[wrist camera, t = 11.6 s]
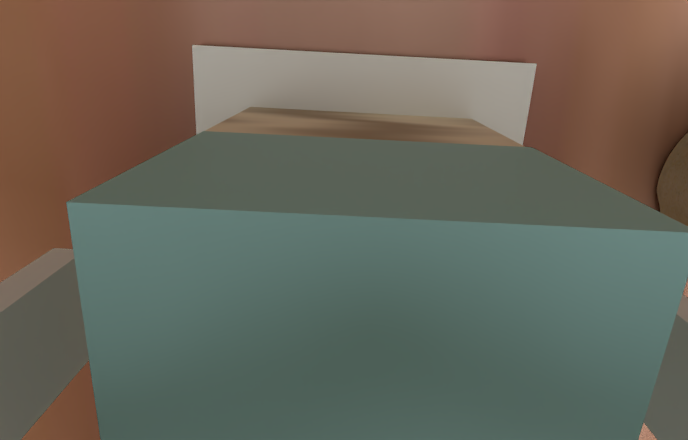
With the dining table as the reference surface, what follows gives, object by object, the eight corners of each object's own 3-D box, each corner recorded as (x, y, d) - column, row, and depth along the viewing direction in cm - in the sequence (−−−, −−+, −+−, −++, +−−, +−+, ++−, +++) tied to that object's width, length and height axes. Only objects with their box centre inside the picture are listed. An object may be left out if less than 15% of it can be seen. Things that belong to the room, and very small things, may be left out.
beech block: (252, 304, 20) (214, 402, 14) (250, 106, 17) (202, 131, 12) (445, 313, 20) (482, 416, 14) (471, 118, 17) (530, 149, 12)
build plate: (212, 330, 22) (206, 343, 21) (200, 45, 18) (192, 45, 17) (480, 344, 22) (486, 357, 21) (526, 63, 18) (536, 63, 17)
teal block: (215, 402, 14) (128, 630, 9) (203, 131, 12) (65, 202, 6) (485, 414, 14) (573, 649, 9) (531, 147, 12) (701, 233, 6)
